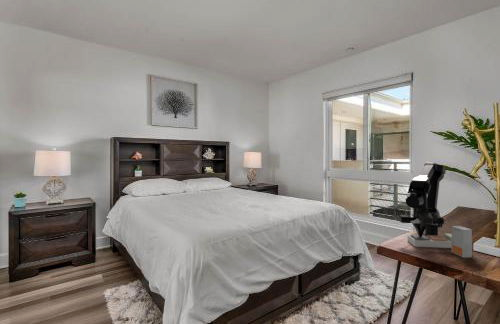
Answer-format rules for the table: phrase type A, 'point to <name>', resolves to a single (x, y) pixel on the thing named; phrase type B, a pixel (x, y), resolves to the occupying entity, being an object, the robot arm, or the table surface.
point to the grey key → (420, 237)
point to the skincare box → (461, 241)
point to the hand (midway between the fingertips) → (420, 236)
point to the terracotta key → (437, 238)
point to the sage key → (448, 236)
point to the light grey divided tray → (429, 243)
